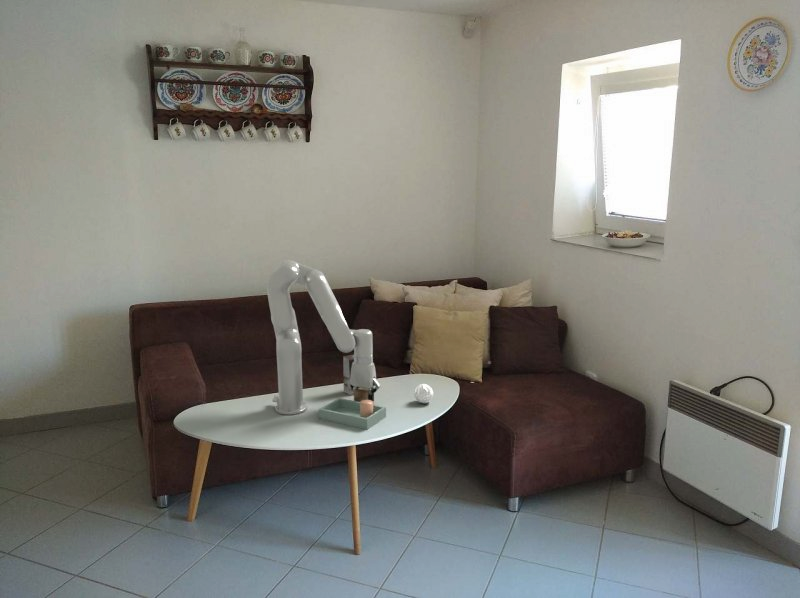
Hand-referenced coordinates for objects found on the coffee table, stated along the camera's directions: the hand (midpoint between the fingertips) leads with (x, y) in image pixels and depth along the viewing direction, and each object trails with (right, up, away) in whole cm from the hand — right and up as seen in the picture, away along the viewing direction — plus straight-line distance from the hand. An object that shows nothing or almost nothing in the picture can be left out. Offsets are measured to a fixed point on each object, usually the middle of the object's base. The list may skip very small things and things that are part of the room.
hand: (364, 401), depth 260 cm
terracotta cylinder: (+2, -4, -18) cm, 18 cm away
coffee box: (-4, +1, +15) cm, 16 cm away
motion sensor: (+25, -1, +2) cm, 25 cm away
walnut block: (0, -1, 0) cm, 1 cm away
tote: (-4, -4, -15) cm, 16 cm away
